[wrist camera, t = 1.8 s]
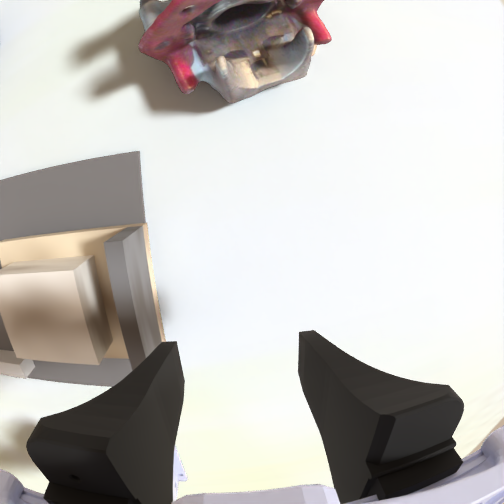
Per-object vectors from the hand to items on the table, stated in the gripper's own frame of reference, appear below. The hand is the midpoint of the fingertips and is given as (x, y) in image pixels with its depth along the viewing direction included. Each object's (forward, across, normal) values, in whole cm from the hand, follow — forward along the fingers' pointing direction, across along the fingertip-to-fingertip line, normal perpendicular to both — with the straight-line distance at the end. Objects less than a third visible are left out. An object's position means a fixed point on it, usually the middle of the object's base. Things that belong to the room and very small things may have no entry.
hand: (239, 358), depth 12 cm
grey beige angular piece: (+9, +11, 0) cm, 14 cm away
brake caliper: (+10, -1, -16) cm, 19 cm away
